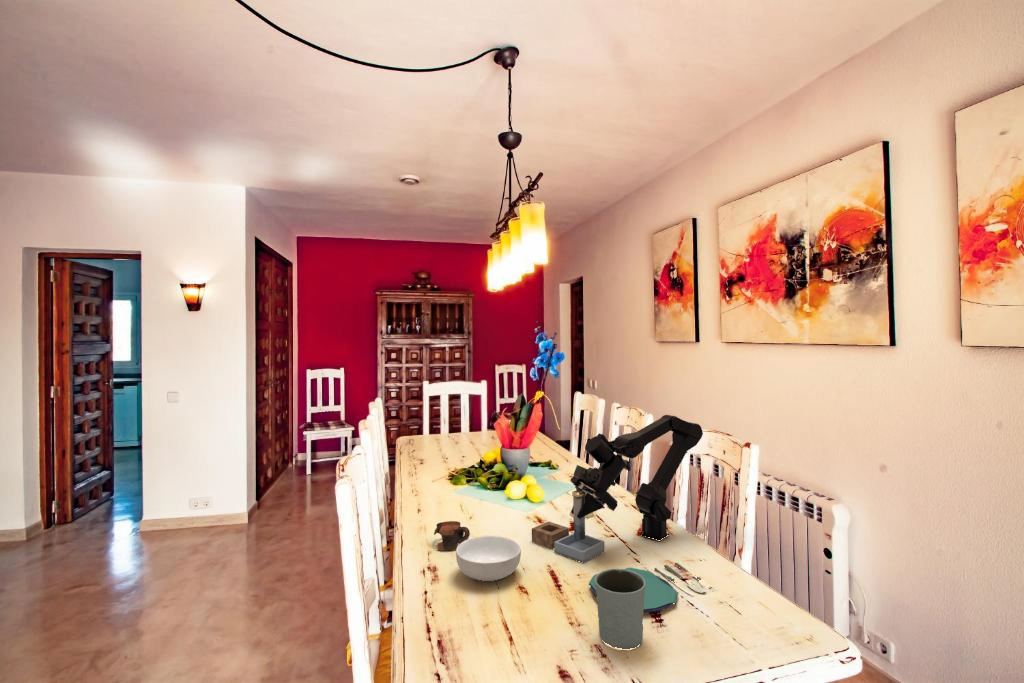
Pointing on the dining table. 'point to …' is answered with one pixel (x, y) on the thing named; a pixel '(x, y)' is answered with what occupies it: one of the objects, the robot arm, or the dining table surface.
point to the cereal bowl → (488, 557)
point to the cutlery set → (653, 589)
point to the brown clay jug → (451, 535)
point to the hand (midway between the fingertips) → (574, 515)
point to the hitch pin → (577, 505)
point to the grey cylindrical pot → (620, 607)
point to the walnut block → (548, 534)
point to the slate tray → (579, 547)
